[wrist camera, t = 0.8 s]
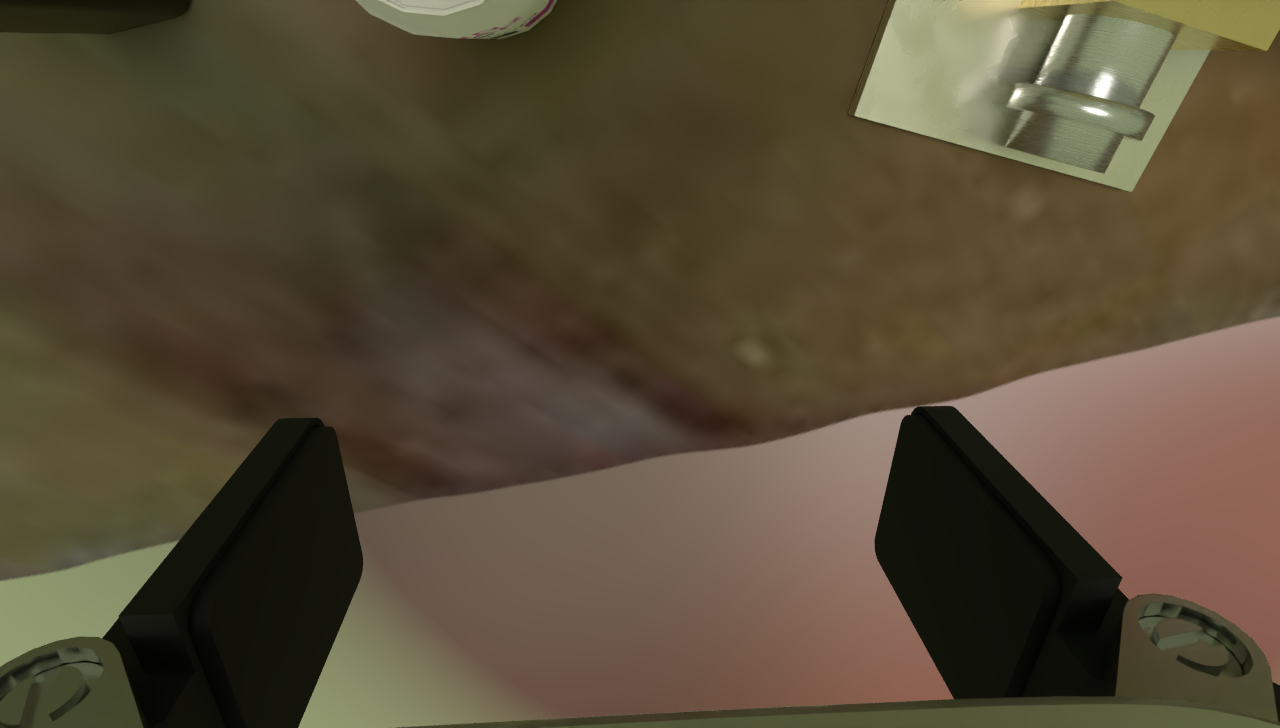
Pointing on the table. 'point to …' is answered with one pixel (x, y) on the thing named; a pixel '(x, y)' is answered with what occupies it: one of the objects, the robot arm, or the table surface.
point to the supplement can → (461, 16)
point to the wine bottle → (84, 15)
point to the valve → (1051, 74)
